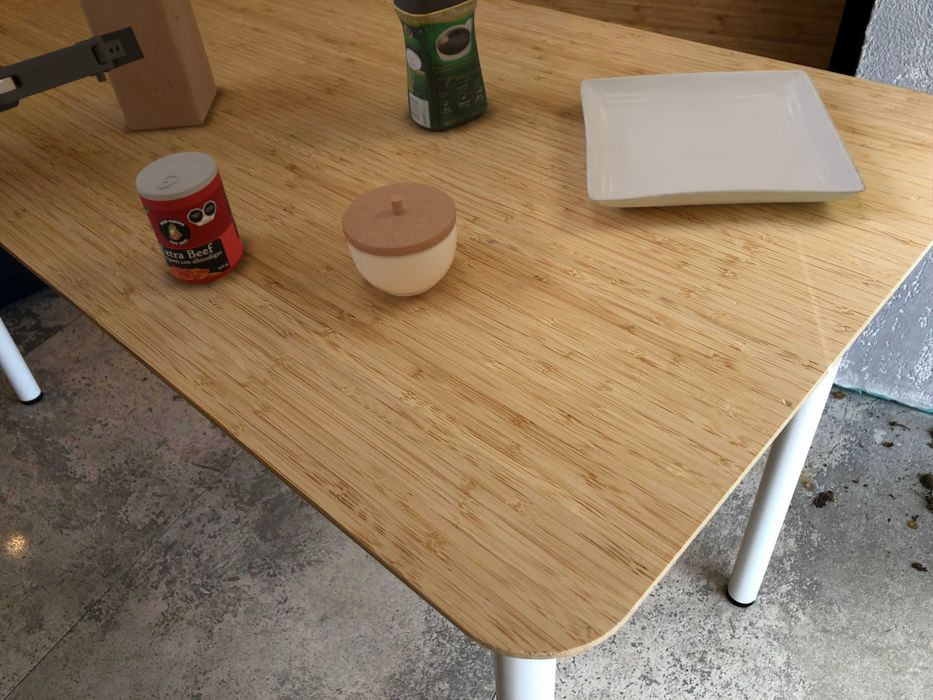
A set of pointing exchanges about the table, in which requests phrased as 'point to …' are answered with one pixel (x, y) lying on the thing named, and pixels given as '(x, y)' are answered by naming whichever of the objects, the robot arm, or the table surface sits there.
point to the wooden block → (157, 62)
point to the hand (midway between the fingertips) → (77, 61)
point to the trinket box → (402, 236)
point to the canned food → (190, 216)
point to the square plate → (713, 140)
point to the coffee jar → (442, 62)
